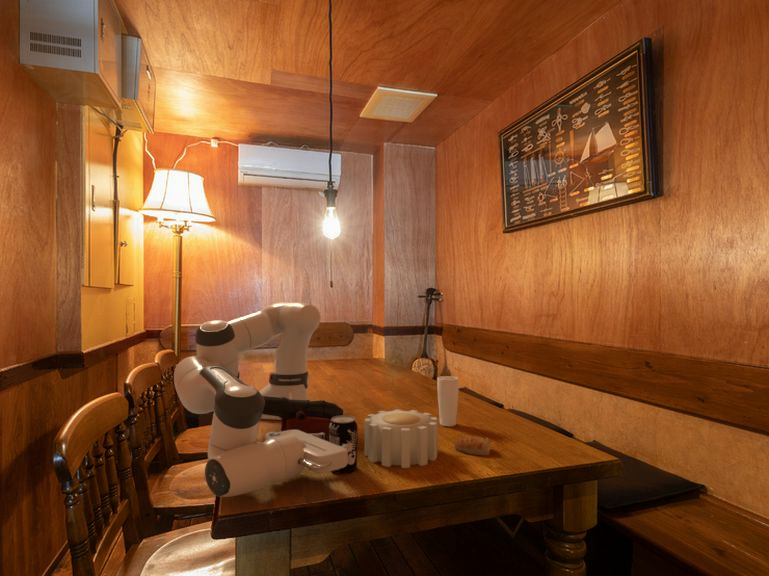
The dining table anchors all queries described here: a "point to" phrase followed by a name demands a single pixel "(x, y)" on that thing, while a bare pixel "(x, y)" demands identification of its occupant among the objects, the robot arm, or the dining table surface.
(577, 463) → the dining table surface
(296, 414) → the cannon model
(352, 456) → the beverage can
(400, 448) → the gear pedestal
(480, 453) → the pastry
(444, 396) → the drinking glass
